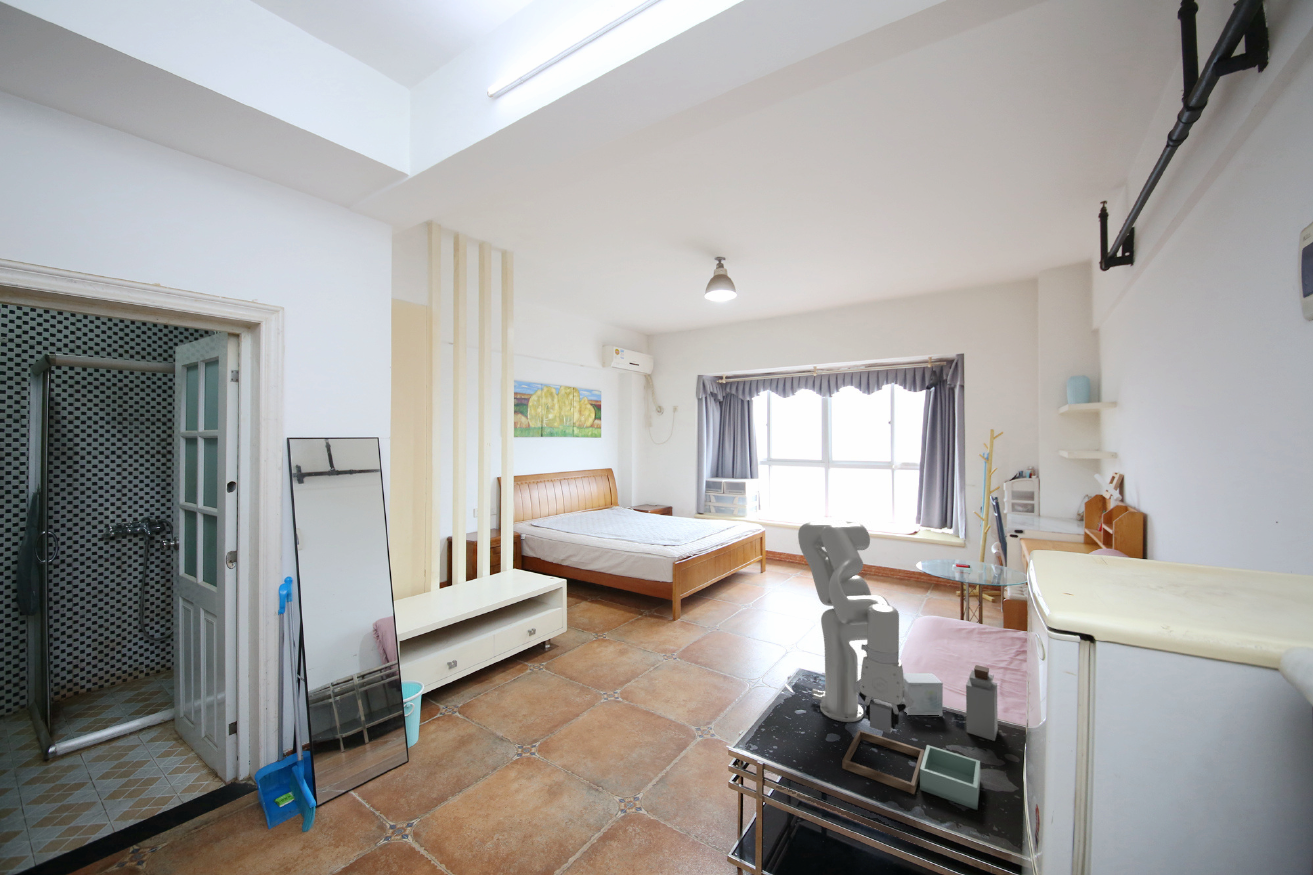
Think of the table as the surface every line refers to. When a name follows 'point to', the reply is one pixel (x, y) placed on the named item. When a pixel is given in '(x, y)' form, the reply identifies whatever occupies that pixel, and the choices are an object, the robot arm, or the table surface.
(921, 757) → the brown wooden frame
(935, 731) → the table surface
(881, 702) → the stone block
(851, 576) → the robot arm
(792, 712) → the table surface
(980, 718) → the perfume bottle
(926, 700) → the skincare box
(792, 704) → the table surface
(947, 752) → the sage green bin
